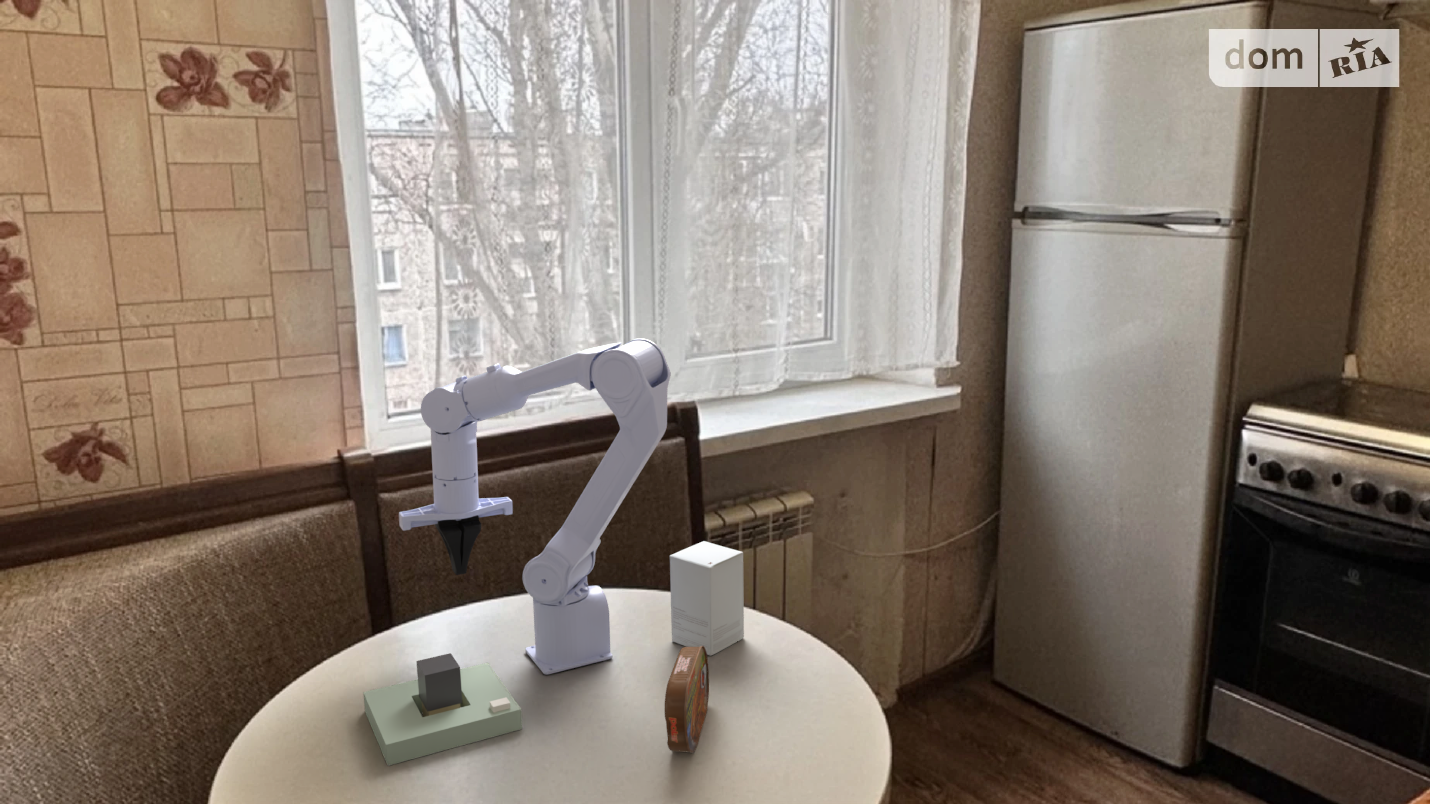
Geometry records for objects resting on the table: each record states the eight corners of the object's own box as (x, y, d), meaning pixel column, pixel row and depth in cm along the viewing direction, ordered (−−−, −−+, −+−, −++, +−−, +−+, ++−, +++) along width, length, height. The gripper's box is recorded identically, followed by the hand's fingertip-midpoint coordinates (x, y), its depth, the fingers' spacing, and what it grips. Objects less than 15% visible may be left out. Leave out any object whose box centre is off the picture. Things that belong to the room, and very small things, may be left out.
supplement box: (745, 638, 137) (745, 551, 134) (710, 657, 132) (709, 567, 129) (705, 623, 142) (704, 539, 139) (669, 641, 136) (668, 554, 134)
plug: (454, 707, 120) (450, 653, 118) (463, 722, 116) (460, 667, 115) (420, 715, 118) (416, 661, 116) (428, 731, 114) (424, 675, 113)
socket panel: (488, 680, 126) (487, 657, 125) (522, 728, 115) (520, 703, 114) (364, 711, 119) (362, 686, 118) (387, 765, 108) (385, 738, 107)
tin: (690, 768, 107) (689, 696, 105) (661, 766, 107) (660, 694, 106) (711, 698, 121) (711, 634, 120) (685, 696, 122) (685, 632, 120)
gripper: (500, 459, 138) (503, 552, 141) (391, 473, 131) (397, 570, 134) (516, 473, 132) (519, 570, 135) (403, 488, 125) (409, 589, 128)
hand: (459, 571), depth 134 cm, fingers closed
